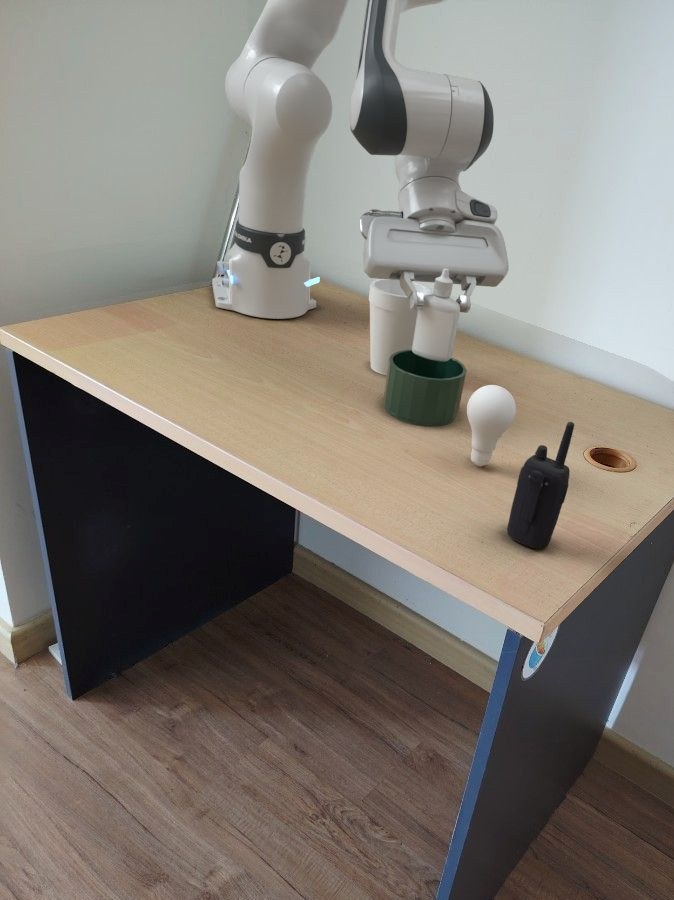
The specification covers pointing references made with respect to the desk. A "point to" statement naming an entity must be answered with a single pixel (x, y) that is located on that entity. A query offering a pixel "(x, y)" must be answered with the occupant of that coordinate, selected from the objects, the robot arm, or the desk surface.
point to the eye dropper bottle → (437, 322)
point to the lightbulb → (489, 420)
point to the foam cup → (390, 321)
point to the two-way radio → (540, 495)
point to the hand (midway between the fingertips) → (441, 309)
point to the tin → (423, 389)
